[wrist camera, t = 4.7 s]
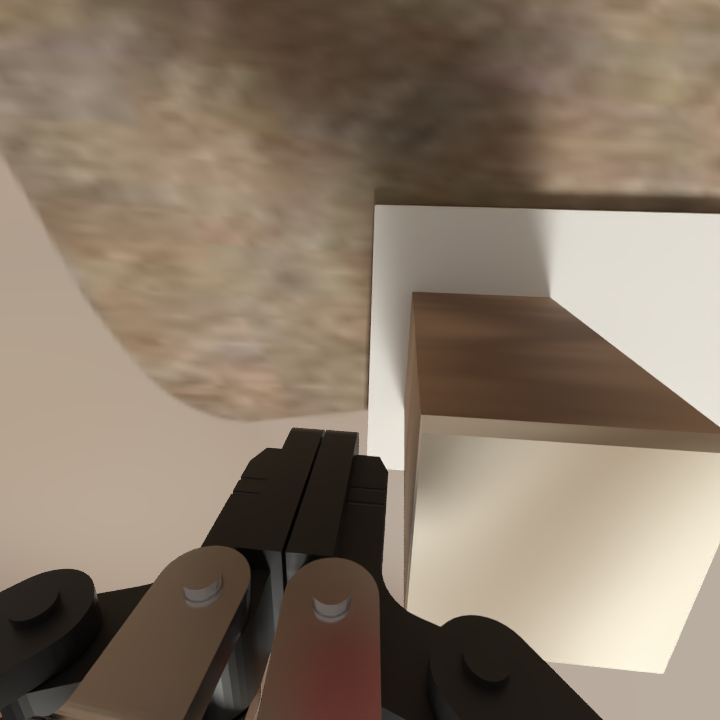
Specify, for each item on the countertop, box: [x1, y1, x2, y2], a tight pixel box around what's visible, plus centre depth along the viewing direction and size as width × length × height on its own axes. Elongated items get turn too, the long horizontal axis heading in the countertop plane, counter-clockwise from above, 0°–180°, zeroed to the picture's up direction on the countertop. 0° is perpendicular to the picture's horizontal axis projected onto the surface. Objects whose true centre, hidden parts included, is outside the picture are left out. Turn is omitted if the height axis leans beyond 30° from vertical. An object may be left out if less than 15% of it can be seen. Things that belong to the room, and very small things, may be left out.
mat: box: [367, 205, 720, 470], centre depth 17 cm, size 18×11×1 cm, turn 89°
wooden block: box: [404, 292, 720, 674], centre depth 12 cm, size 5×5×10 cm
